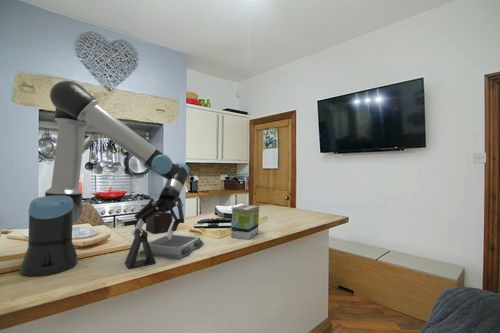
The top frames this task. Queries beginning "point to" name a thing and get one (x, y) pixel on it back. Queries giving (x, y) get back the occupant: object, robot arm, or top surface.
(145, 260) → the dark grey triangular stand
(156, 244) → the tray
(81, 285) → the top surface
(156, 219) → the dark brown handled box
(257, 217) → the tea box
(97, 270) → the top surface
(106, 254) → the top surface
